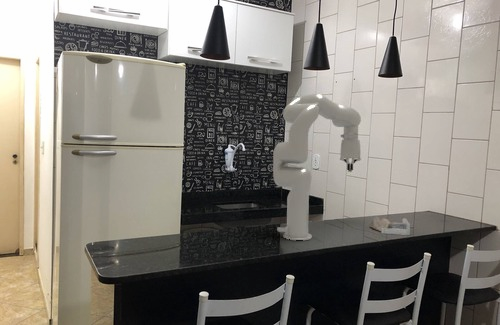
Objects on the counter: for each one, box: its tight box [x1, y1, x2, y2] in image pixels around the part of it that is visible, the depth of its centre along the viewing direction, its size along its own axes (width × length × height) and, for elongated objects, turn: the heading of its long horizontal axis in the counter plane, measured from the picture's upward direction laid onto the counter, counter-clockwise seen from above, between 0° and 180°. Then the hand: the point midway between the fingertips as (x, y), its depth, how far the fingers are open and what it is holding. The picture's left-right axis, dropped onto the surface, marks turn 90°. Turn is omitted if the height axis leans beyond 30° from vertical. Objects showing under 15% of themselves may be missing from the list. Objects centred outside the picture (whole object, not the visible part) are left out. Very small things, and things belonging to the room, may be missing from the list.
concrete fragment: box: [368, 216, 392, 232], centre depth 196 cm, size 7×14×6 cm, turn 8°
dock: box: [380, 217, 411, 236], centre depth 194 cm, size 12×15×5 cm
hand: (350, 171), depth 213 cm, fingers closed
